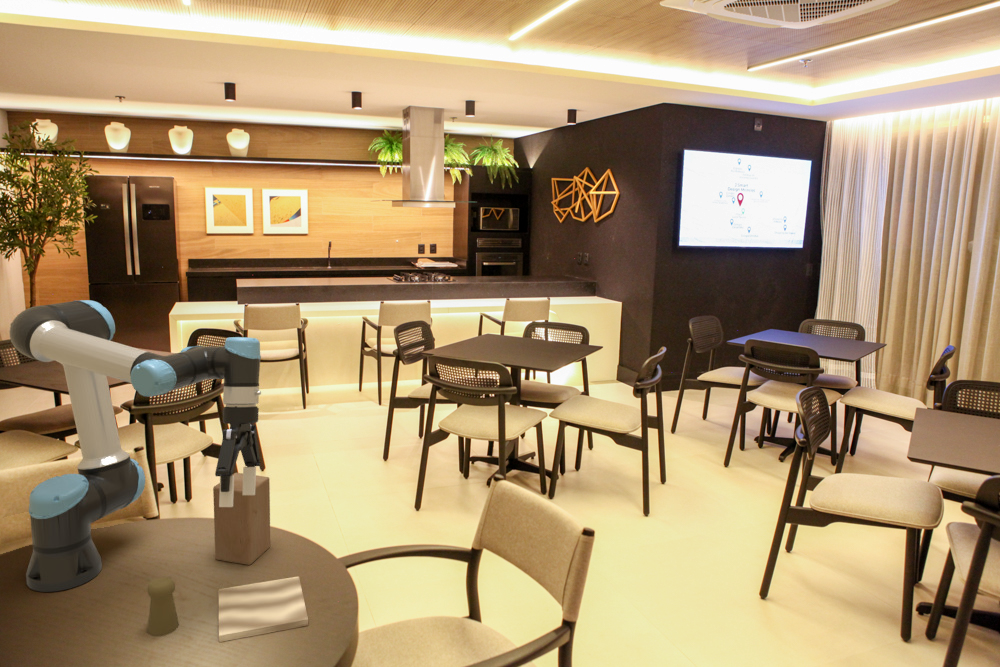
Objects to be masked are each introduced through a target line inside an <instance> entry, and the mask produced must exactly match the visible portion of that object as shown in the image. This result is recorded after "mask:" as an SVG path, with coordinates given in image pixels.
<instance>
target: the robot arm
mask: <svg viewBox="0 0 1000 667" xmlns="http://www.w3.org/2000/svg"><path fill="white" fill-rule="evenodd" d="M115 333H116V324H115V320H114V318H113V316H112V314H111V312H110V311H109V310H108V309H107V307H105V306H103V305H102V304H101V303H100V302H98V301H95V300H91V299H90V300H89V299H87V300H84V299H83V300H82V299H81V300H72V301H71V300H70V301H65V302H59V303H51V304H45V305H36V306H32V307H29V308H26V309H25V310H23V311H21V312H20V313H19V314H17V315H16V316H15V317H14V319H13V320H12V322H11V324H10V327H9V339H10V341H11V342H10V343H11V344H12V345H13V347H14V348H15V349H16V350H17V351H18V352H19V353H21V355H24V356H26V357H28V358H30V359H33V360H36V361H39V362H44V363H49V362H55V361H56V362H58V363H59V364H61V366H63V370H64V375H65V380H66V385H67V389H68V395H69V400H70V403H71V408H72V409H71V410H72V414H73V419H74V422H75V428H76V433H77V437H78V441H79V445H80V451H81V456H82V458H81V460H80V461H79V463H78V464H77V466H76V467H77V472H78V473H66V474H61V475H60V476H59V475H56V476H54V477H53V476H52V477H51V478H47V479H46V480H43V481H42V482H40V483H38V484H37V485H36V486H35V487H34V488H32V490H31V492H30V494H29V499H28V500H29V504H28V514H29V517H30V518H29V519H30V529H31V542H32V553H31V556H30V560H29V563H28V567H27V570H26V573H25V577H26V585H27V587H28V588H29V589H30V590H33V591H35V592H40V593H41V592H44V593H51V592H52V593H53V592H60V591H66V590H69V589H73V588H75V587H79V586H82V585H83V584H86V583H88V582H90V581H91V580H94V579H95V577H97V576H98V575H99V574H100V572H101V570H102V568H103V567H102V565H103V564H102V557H101V555H100V553H99V551H98V549H97V547H96V545H95V543H94V541H93V539H92V528H91V524H93V523H94V522H96V521H99V520H101V519H102V518H105V517H107V516H109V515H110V514H112V513H115V512H117V511H119V510H122V509H124V508H127V507H128V506H129V505H130V504H132V503H134V502H135V501H137V500H138V499H139V498H140V497H141V496H142V494H143V492H144V490H145V488H146V487H145V486H146V475H145V472H144V471H145V470H144V469H143V467H142V466H141V465H139V464H140V463H139V462H138V461H137V460H136V459H133V458H131V456H130V453H128V452H127V451H126V450H123V449H122V444H121V440H120V434H119V430H118V426H117V420H116V417H115V411H114V405H113V400H112V395H111V392H110V386H109V381H108V377H109V378H112V379H117V380H119V381H122V382H126V383H129V384H131V386H132V388H133V389H134V390H135V391H137V392H138V394H139V395H140V396H143V397H146V398H149V397H154V396H162V395H166V394H168V393H170V392H173V391H175V390H178V389H181V388H184V387H187V386H190V385H194V384H198V383H200V382H204V381H206V380H223V395H222V403H223V404H224V405H225V406H224V407H223V408H222V423H224V424H229V425H230V426H229V429H227V428H224V429H223V431H222V440H221V441H222V442H221V443H220V444H221V445H220V449H219V454H218V458H217V464H216V467H215V474H214V475H215V477H219V483H220V496H219V507H233V497H234V476H232V475H233V474H234V470H235V467H236V464H237V460H238V457H239V455H240V454H241V456H242V459H243V462H244V465H245V466H243V467H242V468H243V470H242V473H243V493H242V495H255V484H256V475H257V467H261V459H260V452H259V444H258V438H257V426H256V424H257V423H258V422H259V410H260V409H259V407H258V406H256V405H258V403H259V402H260V401H259V397H260V395H262V392H261V390H260V370H261V368H260V367H261V359H262V355H261V343H260V340H259V339H258V338H255V337H246V336H245V337H243V336H242V337H241V336H235V337H234V336H233V337H230V336H229V337H227V338H226V339H225V343H224V345H223V346H210V345H209V346H205V345H204V346H203V345H195V346H186V347H184V348H182V350H181V351H180V352H177V353H172V354H168V355H161V354H159V353H154V352H150V351H148V350H143V349H140V348H136V347H134V346H133V347H132V346H130V345H126V344H123V343H120V342H115V341H113V338H114V334H115Z"/></svg>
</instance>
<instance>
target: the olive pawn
mask: <svg viewBox="0 0 1000 667" xmlns="http://www.w3.org/2000/svg"><path fill="white" fill-rule="evenodd" d="M175 583H176V582H175V581H174V579H173V578H172V577H170V576H160V577H156V578H155V579H153V580H151V581H150V583H149V584H148V586H147V595H148V597H149V598H150V601H149V602H150V605H149V613H148V620H147V621H148V622H147V633H148V635H150V636H153V637H162V636H166V635H169V634H172V633H173V632H174V631H176V630H177V629H178V628H179V625H180V622H179V618H178V613H177V609H176V604H175V598H174V595H173V594H174V592H175V589H176V584H175ZM176 628H177V629H176Z"/></svg>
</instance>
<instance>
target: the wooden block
mask: <svg viewBox="0 0 1000 667" xmlns="http://www.w3.org/2000/svg"><path fill="white" fill-rule="evenodd" d="M232 476H234V497H233V507H219V496H220V482H219V483H217V484H216V485H214V486H213V489H212V491H213V494H212V495H213V519H214V520H213V522H214V527H213V528H214V549H215V550H214V554H215V555H214V556H215V557H214V558H215V560H218V561H224V562H229V563H236V564H240V565H241V564H242V565H246V566H251V565H252V564H253V563H255V562H256V561H257V559H258V558H260V557H261V555H263V554H264V553H265V552H266V551H267V550H269V549H270V547H271V502H270V501H271V497H270V494H271V492H270V491H271V490H270V489H271V486H270V477H269V476H263V475H257V474H256V484H255V495H242V493H243V472H242V473H241V472H233V474H232Z"/></svg>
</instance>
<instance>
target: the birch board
mask: <svg viewBox="0 0 1000 667" xmlns="http://www.w3.org/2000/svg"><path fill="white" fill-rule="evenodd" d="M306 626H309V618H308V613H307V608H306V603H305V597H304V594H303V590H302V583H301V580H300V576H293V577H287V578H280V579H274V580H273V579H272V580H267V581H260V582H254V583H250V584H249V583H248V584H243V585H237V586H230V587H225V588H218V643H222V642H228V641H232V640H238V639H243V638H247V637H254V636H258V635H259V636H260V635H264V634H270V633H274V632H281V631H285V630H291V629H296V628H301V627H302V628H303V627H306Z"/></svg>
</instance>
